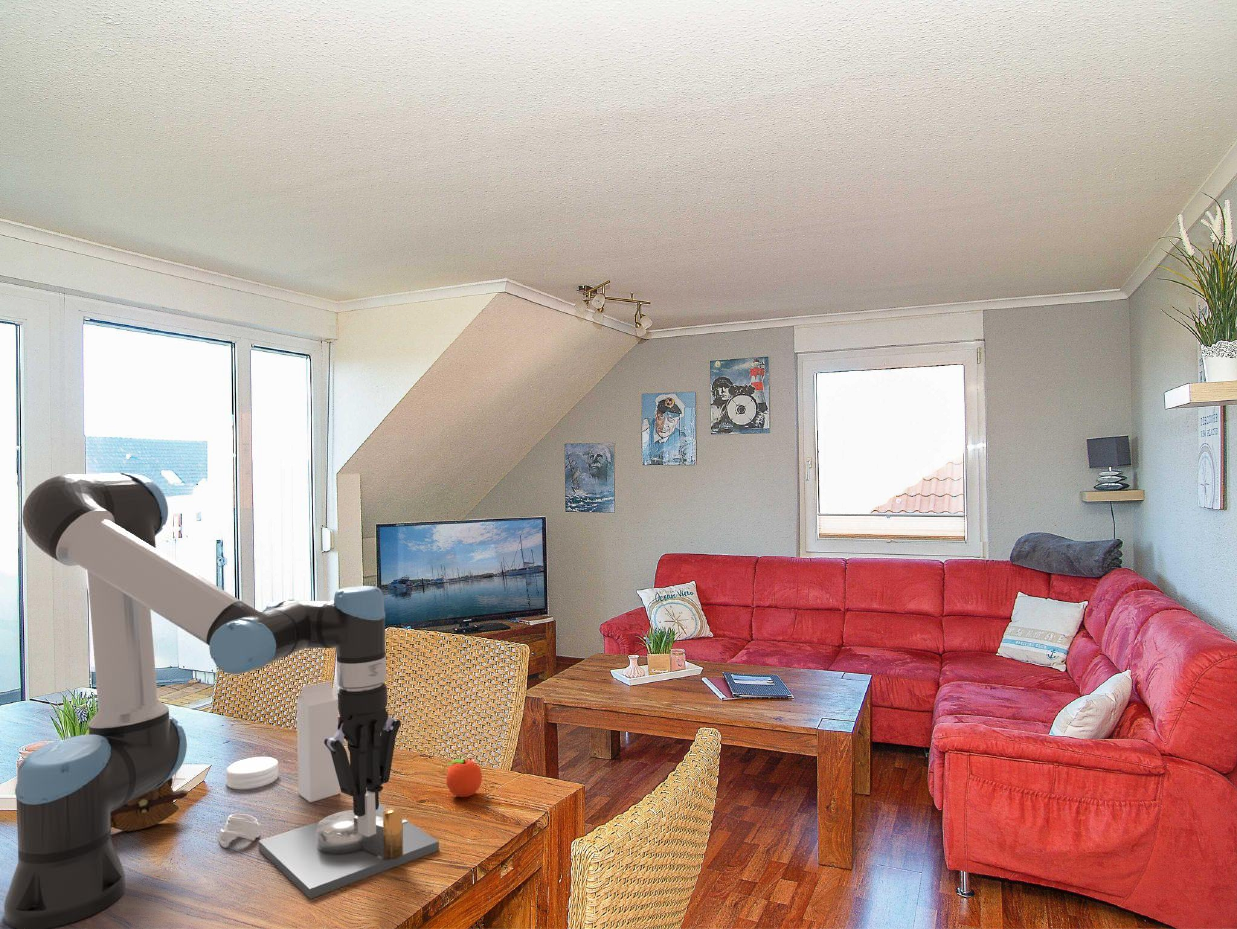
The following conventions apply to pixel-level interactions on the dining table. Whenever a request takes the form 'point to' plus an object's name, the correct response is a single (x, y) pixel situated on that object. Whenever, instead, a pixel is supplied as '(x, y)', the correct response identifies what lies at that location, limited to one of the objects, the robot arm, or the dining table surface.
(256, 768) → the round white tin
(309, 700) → the milk
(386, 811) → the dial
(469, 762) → the clementine
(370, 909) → the dining table surface
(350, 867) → the plate
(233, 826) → the whipped cream
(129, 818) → the wooden carving
